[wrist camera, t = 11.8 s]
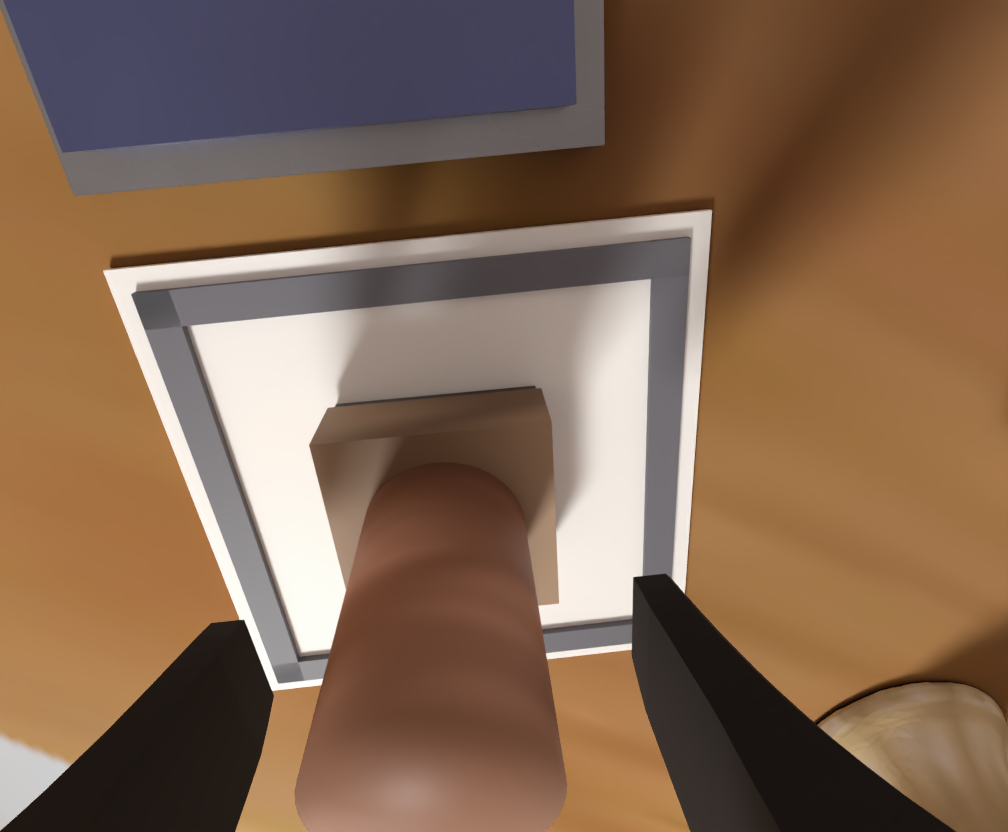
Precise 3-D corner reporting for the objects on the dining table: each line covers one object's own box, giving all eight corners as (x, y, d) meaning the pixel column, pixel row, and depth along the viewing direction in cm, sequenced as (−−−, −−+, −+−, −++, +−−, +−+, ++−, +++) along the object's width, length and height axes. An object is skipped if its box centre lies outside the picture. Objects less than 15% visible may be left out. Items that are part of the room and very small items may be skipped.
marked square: (708, 208, 12) (715, 210, 12) (678, 638, 18) (683, 648, 18) (108, 268, 12) (97, 272, 12) (269, 685, 18) (266, 696, 18)
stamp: (539, 381, 14) (621, 645, 7) (547, 546, 16) (616, 878, 9) (331, 400, 14) (185, 690, 6) (368, 563, 16) (290, 916, 9)
